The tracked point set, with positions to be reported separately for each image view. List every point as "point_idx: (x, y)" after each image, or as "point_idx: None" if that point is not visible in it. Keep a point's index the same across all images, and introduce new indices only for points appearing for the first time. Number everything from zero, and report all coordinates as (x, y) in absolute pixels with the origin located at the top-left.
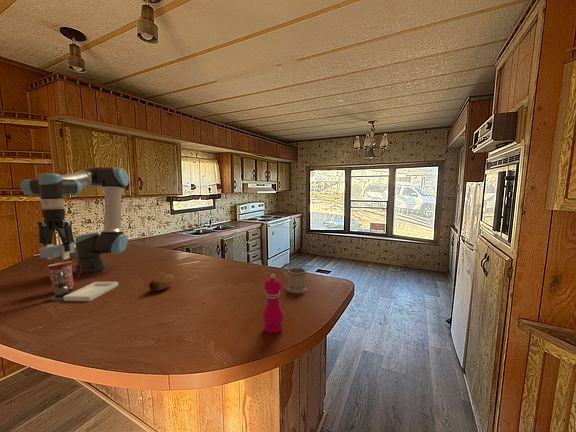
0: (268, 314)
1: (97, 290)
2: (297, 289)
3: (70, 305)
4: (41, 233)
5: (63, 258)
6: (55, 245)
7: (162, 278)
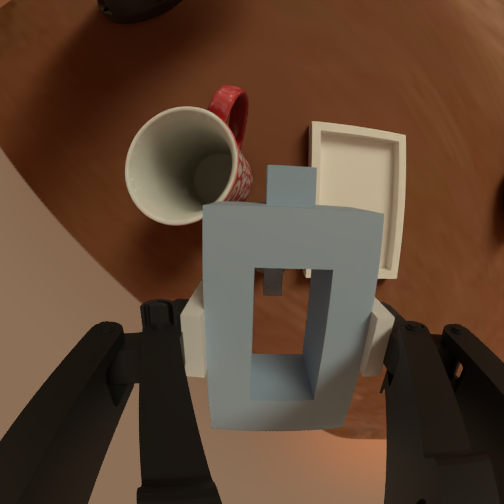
0: None
1: (363, 189)
2: None
3: None
4: (93, 468)
5: None
6: (231, 310)
7: None
